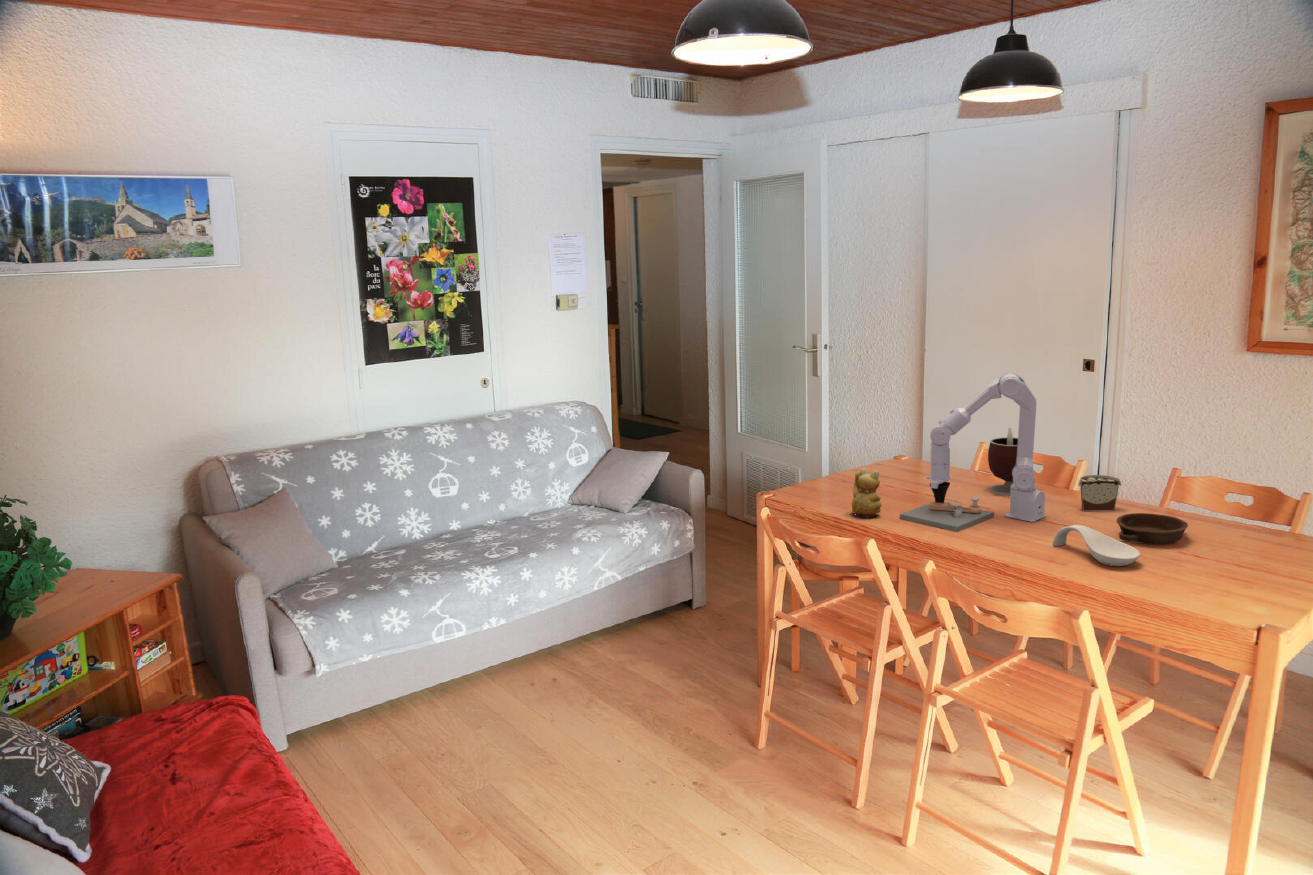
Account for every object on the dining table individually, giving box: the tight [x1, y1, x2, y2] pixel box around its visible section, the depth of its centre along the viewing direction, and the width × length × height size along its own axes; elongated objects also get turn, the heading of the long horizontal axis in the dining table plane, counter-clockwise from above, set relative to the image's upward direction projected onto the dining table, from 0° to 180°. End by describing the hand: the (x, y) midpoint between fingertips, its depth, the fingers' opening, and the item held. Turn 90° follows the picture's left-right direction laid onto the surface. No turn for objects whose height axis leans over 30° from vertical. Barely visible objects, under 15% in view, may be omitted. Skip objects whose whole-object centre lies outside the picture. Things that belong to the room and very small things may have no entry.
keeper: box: [946, 501, 962, 518], centre depth 285 cm, size 2×5×4 cm, turn 10°
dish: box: [1116, 512, 1189, 546], centre depth 261 cm, size 18×22×5 cm
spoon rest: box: [1052, 524, 1141, 567], centre depth 248 cm, size 24×12×7 cm, turn 27°
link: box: [928, 496, 982, 513], centre depth 289 cm, size 15×4×4 cm, turn 63°
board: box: [899, 501, 995, 532], centre depth 288 cm, size 20×20×2 cm
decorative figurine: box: [851, 467, 883, 519], centre depth 293 cm, size 10×8×15 cm
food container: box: [1077, 474, 1122, 512], centre depth 290 cm, size 12×6×10 cm, turn 84°
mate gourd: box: [987, 427, 1018, 497], centre depth 313 cm, size 16×14×20 cm
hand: (939, 505), depth 293 cm, fingers closed, pressing on link
